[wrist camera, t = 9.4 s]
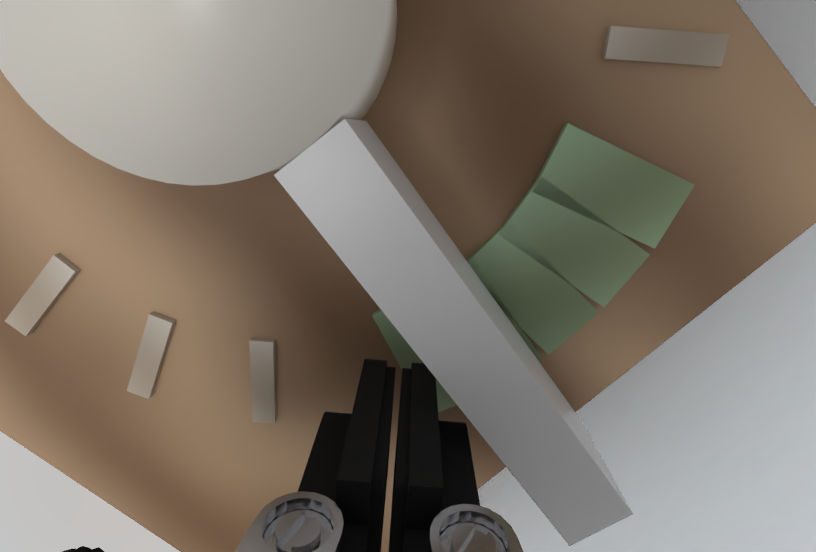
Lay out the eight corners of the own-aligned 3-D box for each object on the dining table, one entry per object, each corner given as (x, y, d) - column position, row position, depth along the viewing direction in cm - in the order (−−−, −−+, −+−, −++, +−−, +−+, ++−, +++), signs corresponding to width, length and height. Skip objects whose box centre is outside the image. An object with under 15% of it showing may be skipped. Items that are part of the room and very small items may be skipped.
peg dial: (28, -23, 9) (-150, -91, 6) (257, -266, 8) (166, -486, 5) (461, 488, 13) (473, 593, 10) (664, 374, 11) (745, 457, 9)
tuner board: (267, -508, 9) (220, -706, 7) (799, 171, 12) (877, 181, 10) (-164, 238, 13) (-271, 259, 11) (311, 573, 17) (296, 636, 15)
